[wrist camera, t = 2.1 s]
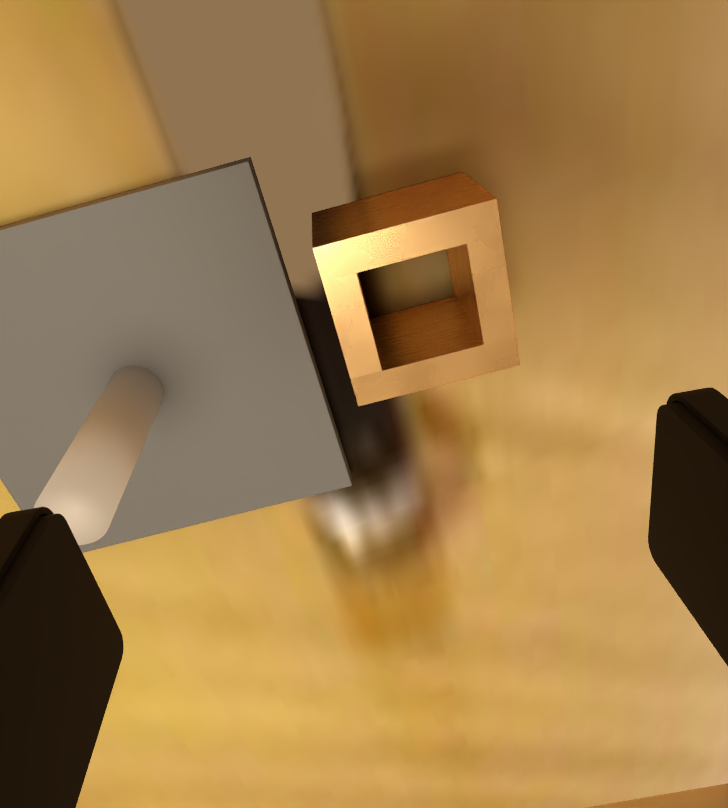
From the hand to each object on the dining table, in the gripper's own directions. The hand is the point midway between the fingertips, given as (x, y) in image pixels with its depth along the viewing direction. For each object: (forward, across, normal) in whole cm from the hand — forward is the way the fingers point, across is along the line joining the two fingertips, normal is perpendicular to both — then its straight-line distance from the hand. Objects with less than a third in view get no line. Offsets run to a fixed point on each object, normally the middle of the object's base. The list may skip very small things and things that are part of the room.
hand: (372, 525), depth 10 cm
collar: (+20, -3, +2) cm, 20 cm away
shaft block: (+20, +10, +5) cm, 23 cm away
